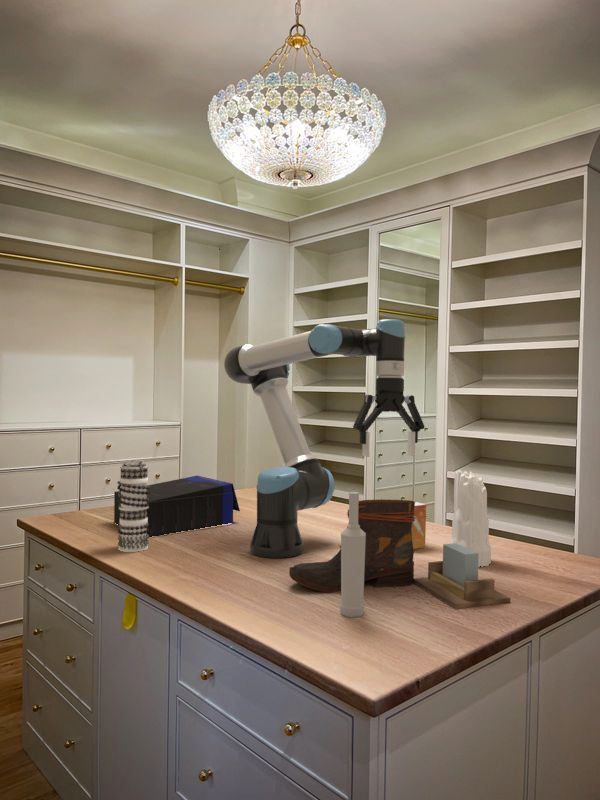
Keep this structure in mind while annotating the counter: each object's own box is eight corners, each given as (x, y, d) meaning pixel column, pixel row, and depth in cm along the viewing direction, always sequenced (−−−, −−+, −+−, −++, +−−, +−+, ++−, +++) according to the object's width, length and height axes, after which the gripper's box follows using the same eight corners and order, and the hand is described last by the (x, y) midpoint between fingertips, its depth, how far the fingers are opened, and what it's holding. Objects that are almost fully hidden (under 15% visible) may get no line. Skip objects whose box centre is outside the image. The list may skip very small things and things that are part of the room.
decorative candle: (110, 548, 171) (111, 461, 171) (138, 542, 178) (139, 459, 177) (127, 554, 165) (128, 464, 164) (156, 548, 172) (156, 461, 171)
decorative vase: (491, 558, 166) (492, 468, 165) (490, 569, 156) (492, 473, 155) (451, 554, 169) (452, 466, 169) (447, 564, 159) (449, 471, 159)
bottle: (337, 608, 126) (339, 490, 125) (362, 608, 126) (363, 490, 126) (341, 617, 121) (343, 494, 120) (366, 617, 121) (368, 494, 121)
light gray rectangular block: (464, 594, 132) (465, 554, 132) (442, 582, 141) (443, 544, 141) (477, 593, 134) (478, 553, 133) (455, 580, 142) (456, 543, 142)
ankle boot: (284, 579, 145) (285, 497, 145) (403, 573, 151) (404, 494, 151) (293, 595, 134) (294, 506, 134) (421, 587, 140) (422, 503, 140)
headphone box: (240, 524, 205) (240, 482, 205) (145, 539, 183) (146, 492, 183) (203, 512, 224) (204, 474, 224) (113, 524, 202) (114, 482, 202)
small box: (405, 551, 172) (406, 506, 172) (391, 546, 177) (391, 502, 177) (426, 547, 176) (426, 503, 176) (410, 543, 182) (411, 500, 181)
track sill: (455, 608, 126) (455, 585, 126) (413, 582, 143) (413, 562, 143) (510, 602, 131) (510, 579, 131) (463, 577, 148) (463, 557, 148)
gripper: (352, 376, 153) (351, 458, 153) (437, 377, 161) (436, 456, 161) (341, 376, 160) (340, 455, 160) (423, 378, 168) (422, 453, 168)
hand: (388, 455), depth 161 cm, fingers open, 13 cm apart
